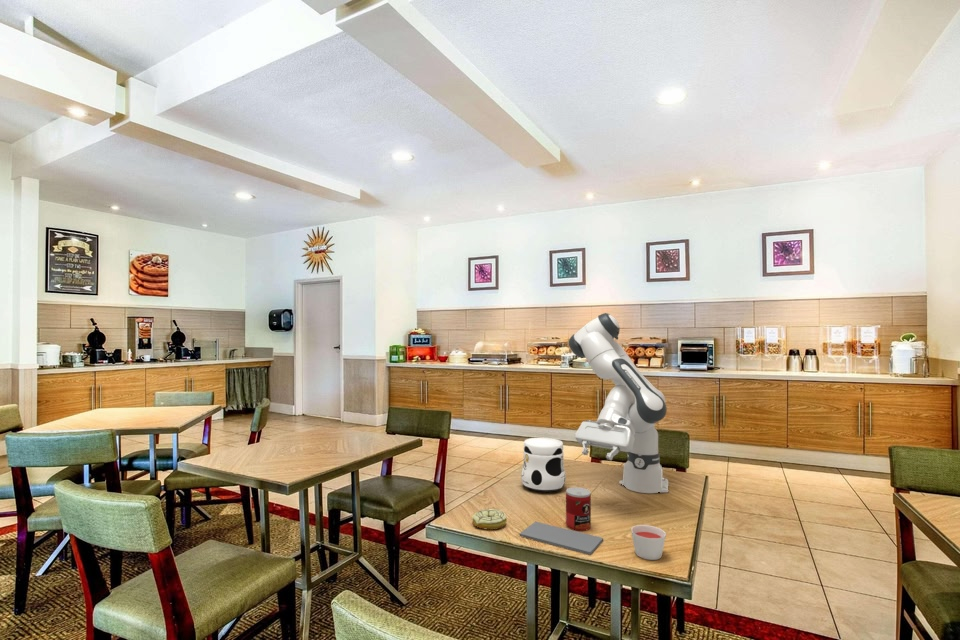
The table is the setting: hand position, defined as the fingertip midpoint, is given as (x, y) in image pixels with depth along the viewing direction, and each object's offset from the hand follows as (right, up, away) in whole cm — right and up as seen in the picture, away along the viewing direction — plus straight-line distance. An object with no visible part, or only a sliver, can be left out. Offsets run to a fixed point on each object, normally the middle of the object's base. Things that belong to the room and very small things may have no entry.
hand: (596, 456), depth 161 cm
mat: (-15, -19, -19) cm, 31 cm away
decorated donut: (-36, -19, -9) cm, 42 cm away
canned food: (-8, -19, -10) cm, 23 cm away
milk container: (-14, -20, +27) cm, 37 cm away
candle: (+7, -19, -29) cm, 35 cm away
